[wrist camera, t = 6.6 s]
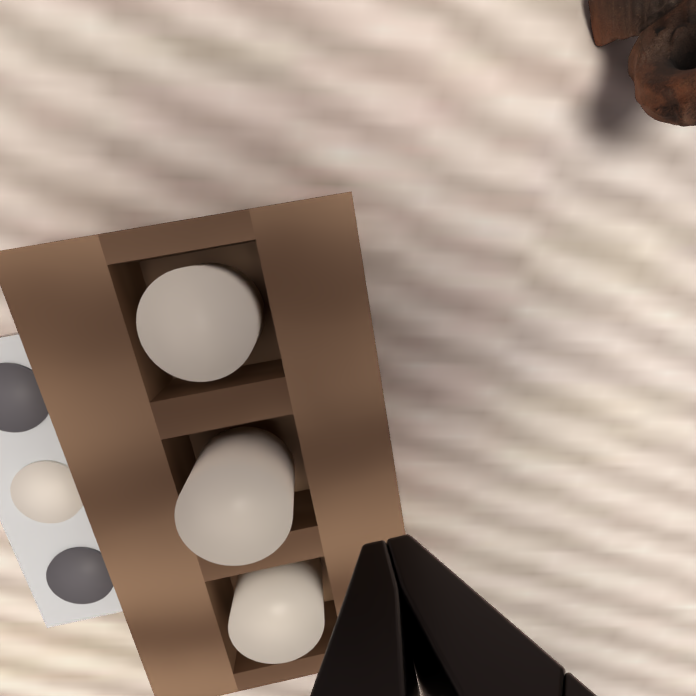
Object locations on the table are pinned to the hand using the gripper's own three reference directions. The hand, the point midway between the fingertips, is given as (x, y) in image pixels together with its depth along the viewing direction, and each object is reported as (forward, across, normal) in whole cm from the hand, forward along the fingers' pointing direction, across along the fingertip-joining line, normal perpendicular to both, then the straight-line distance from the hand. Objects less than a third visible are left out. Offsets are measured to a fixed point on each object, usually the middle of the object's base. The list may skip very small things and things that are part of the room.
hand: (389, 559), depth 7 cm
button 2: (+12, +5, +9) cm, 16 cm away
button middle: (+10, +5, +3) cm, 11 cm away
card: (+12, +14, +2) cm, 18 cm away
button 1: (+11, +4, -4) cm, 13 cm away
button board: (+12, +5, +3) cm, 13 cm away
